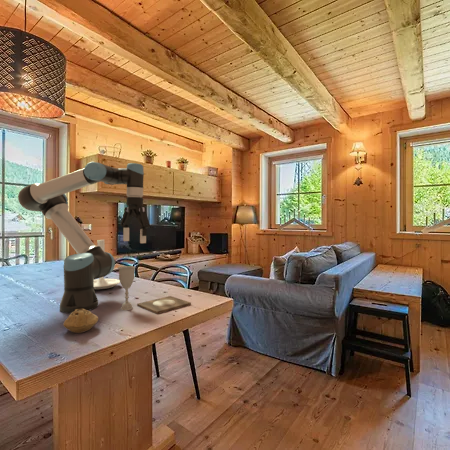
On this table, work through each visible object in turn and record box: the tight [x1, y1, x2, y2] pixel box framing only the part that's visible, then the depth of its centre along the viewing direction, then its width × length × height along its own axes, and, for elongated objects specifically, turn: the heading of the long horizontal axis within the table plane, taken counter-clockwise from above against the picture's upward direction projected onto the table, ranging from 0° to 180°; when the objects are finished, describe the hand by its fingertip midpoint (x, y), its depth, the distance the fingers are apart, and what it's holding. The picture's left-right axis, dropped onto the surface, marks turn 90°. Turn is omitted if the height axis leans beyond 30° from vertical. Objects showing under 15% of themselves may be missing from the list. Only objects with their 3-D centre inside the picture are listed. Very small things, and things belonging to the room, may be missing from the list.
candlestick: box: [94, 239, 121, 291], centre depth 162 cm, size 21×25×28 cm
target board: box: [136, 295, 192, 315], centre depth 131 cm, size 18×16×1 cm
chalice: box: [117, 265, 136, 311], centre depth 126 cm, size 7×7×18 cm
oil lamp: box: [63, 309, 99, 334], centre depth 103 cm, size 11×15×8 cm
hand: (134, 242), depth 136 cm, fingers open, 13 cm apart
